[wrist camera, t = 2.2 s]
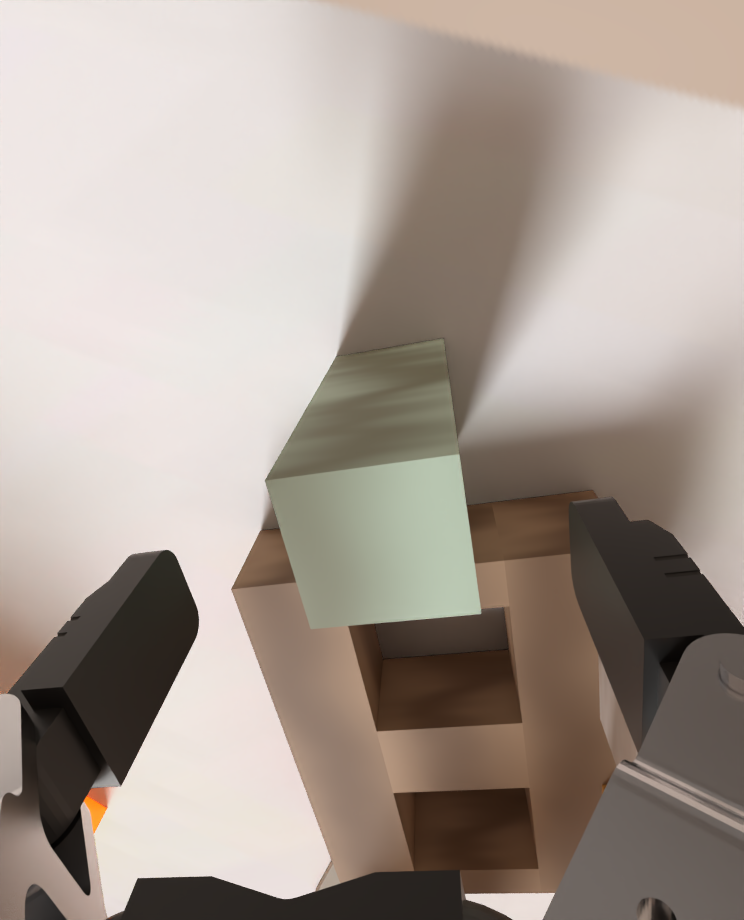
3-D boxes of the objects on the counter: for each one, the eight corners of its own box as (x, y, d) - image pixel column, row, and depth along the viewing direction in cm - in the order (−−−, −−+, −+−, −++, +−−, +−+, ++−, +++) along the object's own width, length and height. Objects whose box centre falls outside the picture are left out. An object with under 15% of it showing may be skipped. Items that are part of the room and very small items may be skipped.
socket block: (593, 490, 22) (677, 634, 14) (602, 808, 30) (659, 1002, 23) (260, 530, 24) (189, 672, 17) (353, 816, 32) (332, 995, 25)
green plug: (443, 338, 20) (459, 454, 11) (457, 439, 21) (481, 613, 12) (336, 356, 20) (265, 480, 11) (357, 453, 22) (310, 629, 13)
